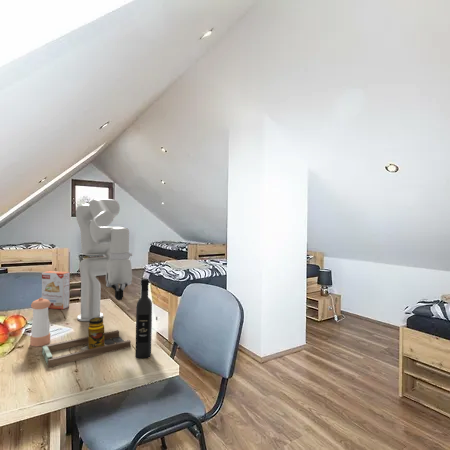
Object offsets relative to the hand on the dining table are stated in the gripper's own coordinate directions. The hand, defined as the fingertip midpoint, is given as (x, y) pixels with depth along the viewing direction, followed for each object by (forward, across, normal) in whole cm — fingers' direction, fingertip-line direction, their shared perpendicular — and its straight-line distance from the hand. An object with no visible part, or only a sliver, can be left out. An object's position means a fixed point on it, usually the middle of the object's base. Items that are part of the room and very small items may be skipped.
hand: (119, 299), depth 132 cm
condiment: (+19, +10, 0) cm, 21 cm away
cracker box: (+18, +12, -70) cm, 73 cm away
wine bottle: (+19, -4, +18) cm, 26 cm away
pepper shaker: (+19, +26, -18) cm, 37 cm away
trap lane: (+19, +12, 0) cm, 22 cm away
